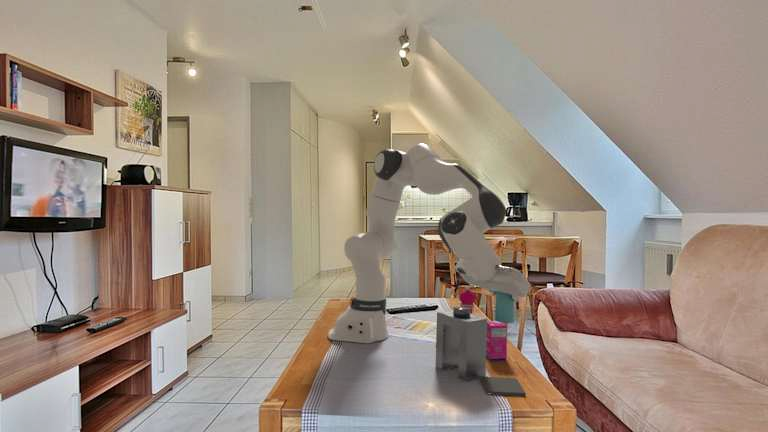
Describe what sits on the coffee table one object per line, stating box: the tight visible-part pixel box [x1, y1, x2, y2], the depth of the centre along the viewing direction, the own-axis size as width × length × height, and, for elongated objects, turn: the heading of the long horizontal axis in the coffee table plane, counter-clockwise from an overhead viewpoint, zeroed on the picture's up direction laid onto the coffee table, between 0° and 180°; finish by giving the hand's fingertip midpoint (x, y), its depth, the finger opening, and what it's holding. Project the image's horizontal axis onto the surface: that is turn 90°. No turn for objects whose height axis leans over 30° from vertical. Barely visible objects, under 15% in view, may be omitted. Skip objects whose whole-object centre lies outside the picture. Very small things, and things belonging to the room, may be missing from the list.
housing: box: [435, 306, 488, 382], centre depth 131 cm, size 8×13×19 cm, turn 34°
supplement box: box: [486, 320, 508, 361], centre depth 145 cm, size 6×6×12 cm
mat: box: [480, 376, 526, 397], centre depth 121 cm, size 10×10×1 cm
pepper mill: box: [458, 285, 477, 314], centre depth 163 cm, size 7×7×20 cm
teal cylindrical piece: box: [494, 291, 516, 324], centre depth 120 cm, size 5×5×12 cm
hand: (506, 297), depth 121 cm, fingers closed on teal cylindrical piece, 5 cm apart
